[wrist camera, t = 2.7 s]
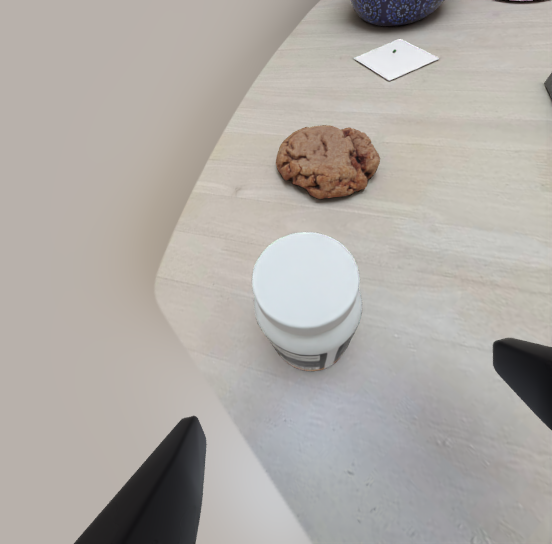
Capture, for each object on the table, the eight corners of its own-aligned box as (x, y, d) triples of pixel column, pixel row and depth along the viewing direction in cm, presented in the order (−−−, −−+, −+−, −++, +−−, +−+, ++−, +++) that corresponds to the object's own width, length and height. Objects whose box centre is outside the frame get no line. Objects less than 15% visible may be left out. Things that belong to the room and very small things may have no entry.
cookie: (286, 137, 31) (283, 112, 29) (378, 139, 29) (384, 112, 26) (266, 199, 27) (261, 176, 24) (374, 207, 25) (381, 182, 22)
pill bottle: (316, 286, 22) (317, 202, 13) (364, 343, 19) (405, 286, 10) (259, 324, 21) (218, 262, 12) (300, 390, 18) (286, 371, 9)
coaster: (389, 80, 34) (390, 74, 33) (353, 58, 37) (354, 51, 37) (440, 58, 34) (442, 51, 34) (399, 38, 38) (401, 31, 38)
